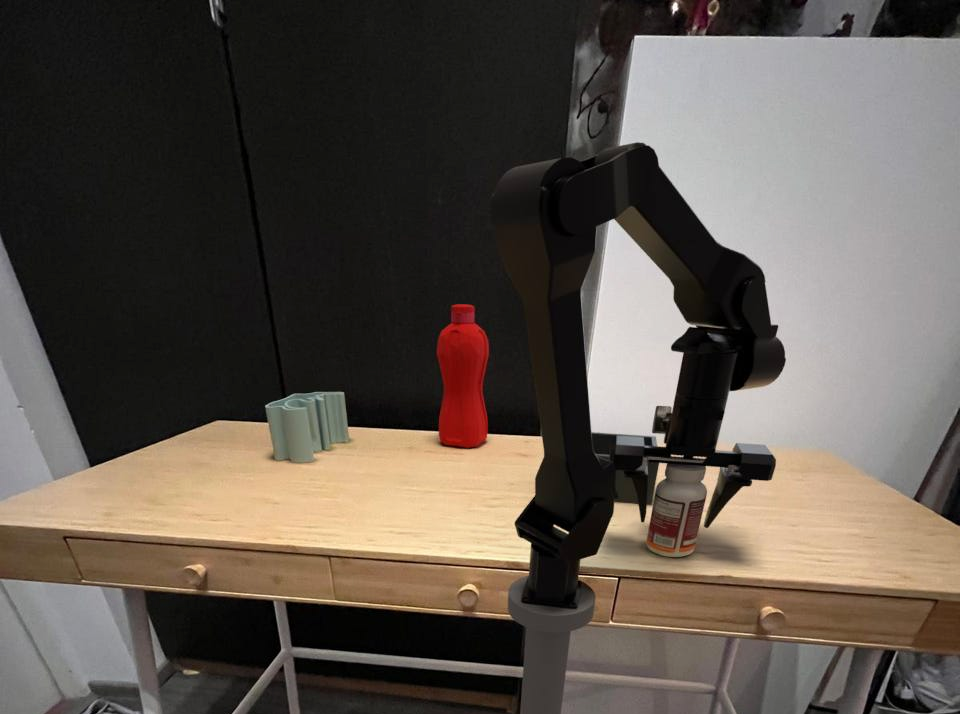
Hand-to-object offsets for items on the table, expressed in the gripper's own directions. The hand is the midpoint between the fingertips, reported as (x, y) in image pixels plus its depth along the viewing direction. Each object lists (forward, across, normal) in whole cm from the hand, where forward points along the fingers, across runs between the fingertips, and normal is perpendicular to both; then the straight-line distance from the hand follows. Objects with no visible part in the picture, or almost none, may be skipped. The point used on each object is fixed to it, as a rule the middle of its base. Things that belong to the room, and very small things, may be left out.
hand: (674, 524), depth 73 cm
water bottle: (+4, +39, -46) cm, 60 cm away
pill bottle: (+4, 0, 0) cm, 4 cm away
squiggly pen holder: (+4, +67, -32) cm, 74 cm away
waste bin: (+4, +9, -24) cm, 26 cm away
